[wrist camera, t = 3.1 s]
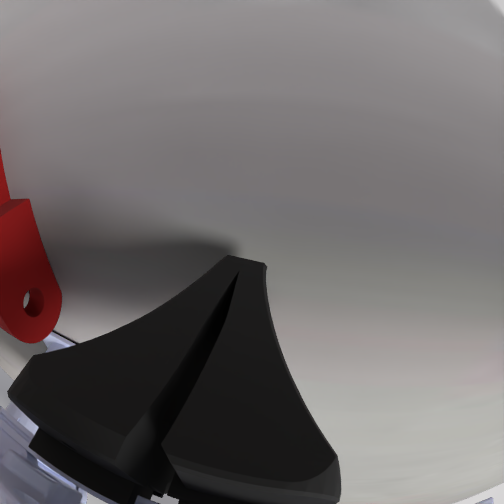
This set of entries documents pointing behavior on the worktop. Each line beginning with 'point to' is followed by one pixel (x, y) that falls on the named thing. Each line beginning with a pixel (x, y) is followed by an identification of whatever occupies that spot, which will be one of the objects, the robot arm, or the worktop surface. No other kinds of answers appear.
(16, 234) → the mechanical linkage
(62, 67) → the worktop surface
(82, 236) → the worktop surface
